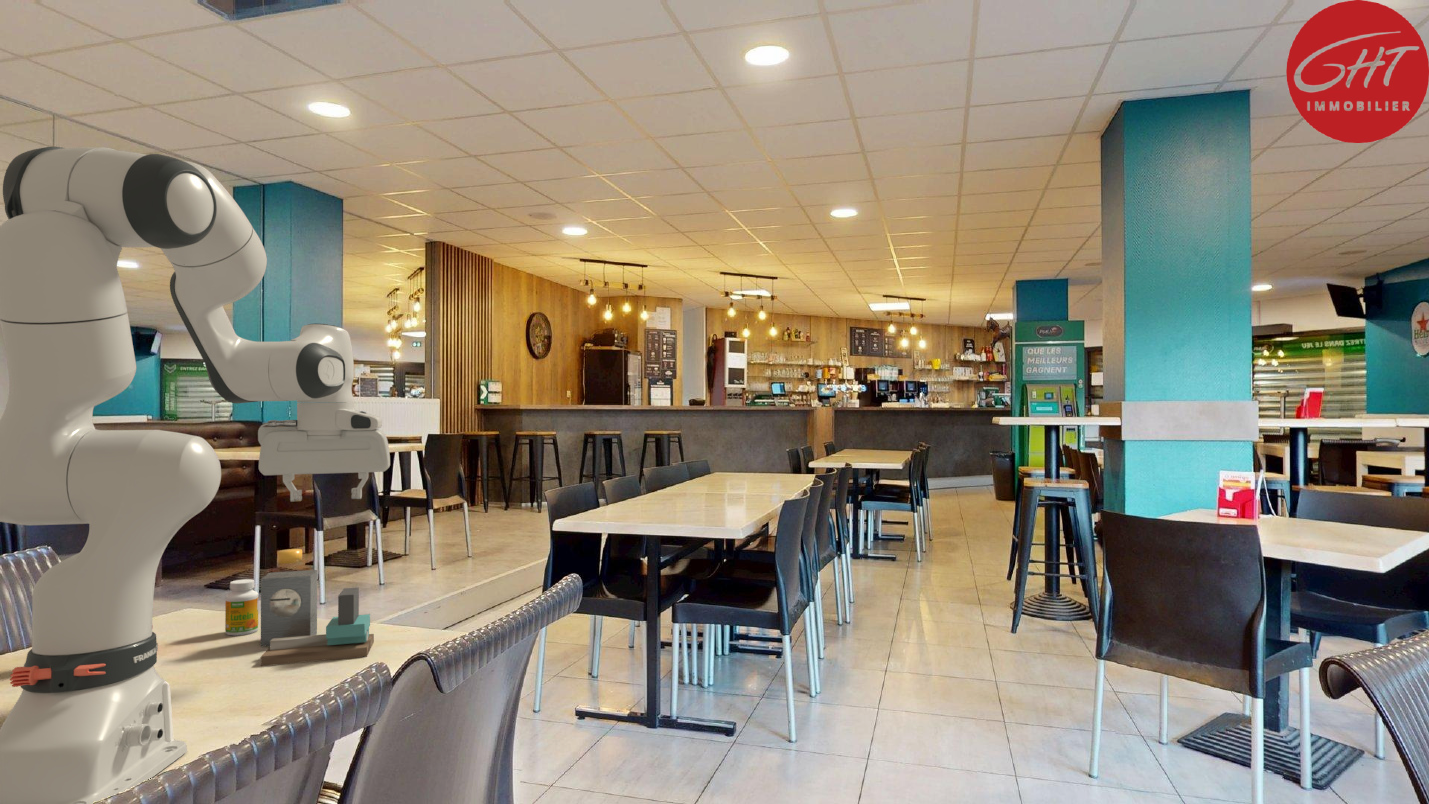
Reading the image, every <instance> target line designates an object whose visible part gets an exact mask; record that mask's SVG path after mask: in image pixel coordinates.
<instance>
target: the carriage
mask: <svg viewBox="0 0 1429 804" xmlns="http://www.w3.org/2000/svg"><path fill="white" fill-rule="evenodd" d="M359 594H360V587H346V588H343V589H342V590H341V591H340V593H339V594H338V596H337V598H338V599H337V601H338V603H337V604H338V605H337V609H338V610H337V613H338V614H337V616H333V617H332V618H331V620H330V621H329V622H328V623H327V624H326V626H325V634H326V639H327V645H338V644H350V643H362V642H366V641H367V631H368V637H369V634H370V627H371V614H370V613H369V614H366V613H365V614H359V613H360V612H359V611H360V609H359V608H360V598H359V597H360V596H359Z"/></svg>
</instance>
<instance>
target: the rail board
mask: <svg viewBox="0 0 1429 804" xmlns="http://www.w3.org/2000/svg"><path fill="white" fill-rule="evenodd" d="M374 642H375V634H374V633H369V637H368V631H367V641H366V642H362V643H350V644H338V645H327V639H326V633H325V634H316V635H311V636H299V637H286V638H274V639H272V640H271V641H270V646H268V648H267V649H266V651H264V653H263V654H262V655H261V656H260V666H261V667H263V666H274V665H285V664H297V663H306V662H307V663H309V662H310V663H311V662H319V661H329V660H339V659H340V660H341V659H353V658H361V657H362V658H363V656H366V657H368V656H369V653H370V651H371V649H372V647H373V645H374Z"/></svg>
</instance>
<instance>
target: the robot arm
mask: <svg viewBox="0 0 1429 804" xmlns="http://www.w3.org/2000/svg"><path fill="white" fill-rule="evenodd" d="M2 196H3V199H2V200H3V203H4V211H5V215H6V216H7V220H5V221H4V222H3V223H1V225H0V329H1V335H2V338H3V344H4V350H5V356H6V357H5V358H6V363H7V364H6V365H7V371H8V380H9V381H8V383H9V384H8V385H9V386H8V389H9V390H8V394H7V395H8V397H7V401H6V406H5V408H4V411H3V414H2V416H1V417H0V522H1V523H5V524H7V523H8V524H12V525H13V524H14V525H23V526H48V525H49V526H50V525H51V526H52V525H53V526H54V525H58V526H59V525H84V524H85V525H87V524H89V529H88V530H89V531H88V536H87V539H86V542H85V544H84V545H83V548H82V549H81V550H80V552H77V553H75V554H74V555H72V556H69V557H68V558H66V559H63V560H61V561H59V562H58V563H56V564H54V565H53V566H51V567H49V569H47V570H46V571H45V572H44V573H43V574H42V575H41V576H40V577H39V579H38V580H37V582H36V583H35V585H34V587H33V590H32V612H31V613H32V615H31V616H32V617H31V619H32V620H31V628H32V629H31V636H32V637H31V649H29V651H28V652H27V653H26V658H25V662H24V664H23V666H16V667H15V668H14V667H13V668H14V669H12V671H11V674H10V678H9V681H10V685H11V687H12V688H15V687H16V688H18V687H20V688H21V689H22V691H21V693H20V695H19V697H18V699H17V701H16V702H15V704H14V705H13V707H12V708H11V709H10V712H9V713H8V714H7V716H6V718H5V720H4V722H3V723H2V725H1V727H0V804H93V802H94V801H99V800H101V799H102V798H107V797H108V796H111V795H114V794H117V793H119V792H123V791H125V790H126V789H130V788H131V787H133V786H136V785H137V784H138V783H141V782H143V781H144V780H148V779H149V778H151V779H152V778H154V776H156V775H157V774H159V773H160V772H162V771H164V769H165V768H167V767H168V766H170V765H171V764H172V763H174V762H175V761H176V760H178V759H179V758H181V757H182V756H184V755H185V754H186V753H187V752H188V747H187V746H188V744H187V742H186V741H183V740H179V739H174V726H173V712H172V711H173V709H172V697H171V696H172V694H171V687H170V686H171V685H170V683H169V682H167V680H166V679H164V678H163V677H162V676H161V675H160V674H159V673H158V672H157V671H158V670H156V668H155V665H156V664H157V662H158V660H157V655H158V651H159V647H158V646H159V645H158V642H157V634H156V633H155V632H154V631H153V629H152V625H153V614H154V613H153V609H154V598H155V597H154V596H155V595H154V594H155V585H156V584H155V583H156V576H157V571H158V567H159V564H160V562H161V558H162V556H163V554H164V552H165V550H166V548H167V547H168V544H169V543H170V542H171V540H172V539H173V537H175V535H176V534H177V532H179V530H180V529H181V528H182V527H183V526H184V525H185V524H186V523H187V522H189V520H191V519H192V518H194V517H195V516H196V515H198V514H200V513H201V512H202V511H204V510H205V509H206V508H207V507H208V505H210V504H211V502H212V501H213V500H214V498H215V497H216V495H217V493H218V491H219V487H220V485H221V480H222V467H221V462H220V459H219V457H218V454H217V453H216V451H215V449H214V448H213V447H212V446H211V444H210V443H209V442H208V441H207V440H206V439H205V438H203V437H202V436H199V435H198V436H197V435H192V434H187V433H181V432H177V431H170V430H162V429H124V430H123V429H116V430H115V429H112V430H111V429H109V430H107V429H105V430H104V429H103V430H101V429H96V427H95V425H94V420H93V413H94V408H95V407H96V406H99V405H100V404H102V403H104V402H107V401H109V400H110V399H112V398H115V397H116V396H118V395H120V394H121V393H122V392H124V391H125V390H126V389H127V388H128V387H129V386H130V385H131V384H132V381H133V380H134V377H135V376H136V371H137V363H136V362H137V361H136V355H135V351H134V345H133V336H132V332H131V325H130V318H129V314H128V306H127V301H126V296H125V292H124V289H123V283H122V281H121V277H120V274H119V271H118V268H117V267H118V261H119V258H120V255H121V252H122V250H123V248H157V249H158V248H159V249H160V250H161V251H162V253H163V254H164V255H165V257H166V259H168V262H170V264H171V265H172V268H173V270H174V272H173V274H172V275H171V277H170V281H169V291H170V295H171V299H172V301H173V303H174V306H175V309H176V310H177V312H178V314H179V317H180V319H181V321H182V322H183V324H184V326H185V328H186V331H187V332H188V334H189V336H190V338H191V340H192V341H193V343H194V346H195V347H196V349H197V351H198V352H199V354H200V356H201V358H202V360H203V362H204V366H205V368H206V372H207V376H208V380H209V383H210V384H211V386H212V388H213V389H214V390H215V392H216V393H217V394H218V395H219V396H220V397H221V398H222V399H224V400H225V401H227V402H229V403H231V404H247V403H248V404H249V403H257V402H289V401H290V402H291V401H295V402H297V403H296V417H297V418H296V419H285V420H284V419H283V420H277V419H273V420H272V419H270V420H268V421H267V422H264V423H263V424H261V425H260V426H259V428H258V430H257V441H258V443H259V445H260V450H259V457H258V470H259V472H260V473H261V474H262V475H263V476H282V483H283V484H284V485H285V486H286V488H287V489H288V491H289V493H290V494H289V497H290V498H289V500H290V502H301V501H303V496H302V494H303V489H297V488H296V486H295V485H294V483H293V481H294V480H295V479H296V478H295V475H318V474H319V475H320V474H350V473H351V474H354V473H358V477H357V478H358V479H359V480H360V479H361V481H360V482H359V483H358V484H357V487H353V488H351V490H350V491H351V492H350V493H351V496H350V497H351V500H361V499H362V497H363V488H364V486H365V485H366V482H367V481H368V479H369V476H370V475H369V473H380V472H381V473H384V472H386V471H387V470H388V469H389V468H390V466H391V455H390V447H389V441H388V438H387V436H386V434H385V432H384V431H382V430H381V428H382V425H383V420H382V418H381V417H380V416H378V415H374V414H371V413H368V412H366V411H362V410H361V411H360V410H356V408H355V398H354V395H353V391H352V387H353V382H354V378H355V366H354V364H355V362H354V353H353V346H352V341H351V340H352V339H351V336H350V333H349V332H348V331H347V329H344V328H343V327H341V326H338V325H334V324H328V323H308V324H305V325H303V326H301V329H300V332H299V336H297V337H295V338H292V339H290V340H283V341H255V340H250V339H246V338H243V337H240V336H239V335H237V334H236V332H235V330H234V327H233V325H232V323H231V321H230V319H229V317H228V314H227V313H226V311H225V308H224V306H227V305H230V304H232V303H235V302H237V301H239V300H241V299H243V298H244V297H246V296H248V295H249V294H250V293H252V291H254V290H255V289H256V287H258V285H259V284H260V282H261V281H262V280H263V277H264V275H265V273H266V270H267V266H268V265H267V263H268V258H267V253H266V249H265V247H264V245H263V242H262V240H261V238H260V237H259V235H258V234H257V231H256V230H255V229H254V227H253V225H252V223H251V222H250V221H249V219H248V217H247V216H246V214H245V212H244V211H243V210H242V208H241V207H240V206H239V204H238V203H237V202H236V200H235V199H234V197H233V196H232V195H231V194H230V193H229V191H228V190H227V189H226V188H225V186H224V185H222V182H220V181H219V180H218V179H217V178H216V177H215V175H214V174H213V173H212V172H211V171H210V170H208V169H207V168H206V167H204V166H203V165H200V164H198V163H196V162H193V161H188V160H187V161H186V160H181V159H179V158H176V157H172V156H169V155H165V154H160V153H150V154H145V153H139V152H134V151H133V152H132V151H127V150H118V149H117V150H116V149H114V148H111V147H95V146H94V147H93V146H92V147H91V146H88V147H87V146H86V147H85V146H84V147H83V146H82V147H81V146H80V147H79V146H78V147H67V148H66V147H62V146H46V147H40V148H35V149H31V150H27V151H24V152H21V153H20V154H18V155H17V156H15V157H14V158H13V159H12V160H11V161H10V163H9V164H8V166H7V168H6V170H5V173H4V176H3V182H2ZM149 780H150V779H149ZM149 780H148V781H149Z"/></svg>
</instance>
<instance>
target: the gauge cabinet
mask: <svg viewBox="0 0 1429 804" xmlns="http://www.w3.org/2000/svg"><path fill="white" fill-rule="evenodd" d="M311 635H318V569H314V570H313V569H312V570H311V569H310V570H295V571H294V570H291V571H275V572H274V571H273V572H268V573H267V574H266V575H264V576H263V577H261V578H260V647H261V648H262V647H270V641H271V640H272V639H274V638H286V637H299V636H311Z"/></svg>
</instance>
